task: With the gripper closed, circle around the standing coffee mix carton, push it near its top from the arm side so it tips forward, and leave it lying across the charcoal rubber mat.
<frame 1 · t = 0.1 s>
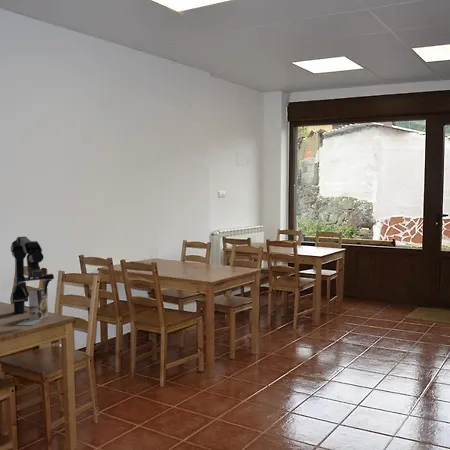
hand: (35, 295, 279), 15 cm above the table, tool pointing down, fingers open, 9 cm apart
coffee box: (38, 318, 295), on the table
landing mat: (29, 323, 283), on the table
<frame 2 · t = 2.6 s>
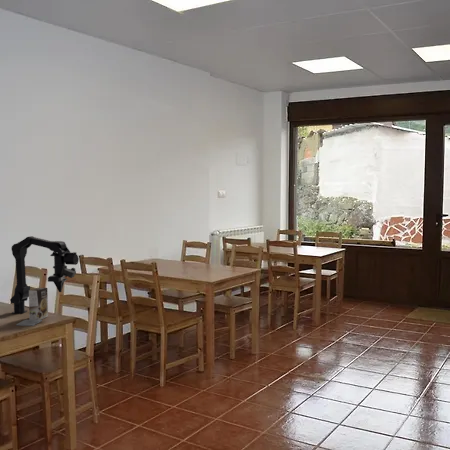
hand: (60, 291, 301), 13 cm above the table, tool pointing down, fingers closed
nothing on the table moved.
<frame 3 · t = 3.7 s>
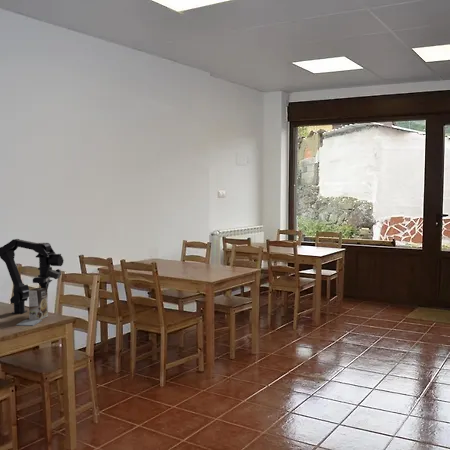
hand: (45, 293, 303), 12 cm above the table, tool pointing down, fingers closed
nothing on the table moved.
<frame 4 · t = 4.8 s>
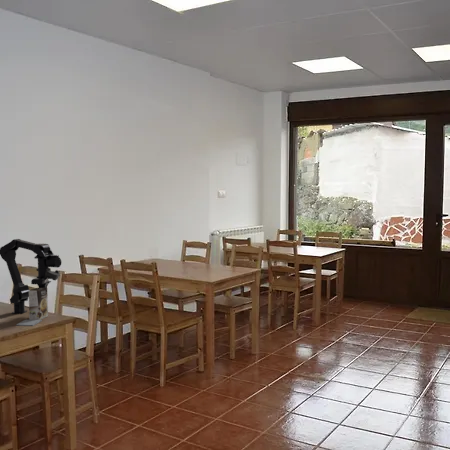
hand: (44, 294, 301), 12 cm above the table, tool pointing down, fingers closed
coffee box: (38, 318, 295), on the table, touching gripper
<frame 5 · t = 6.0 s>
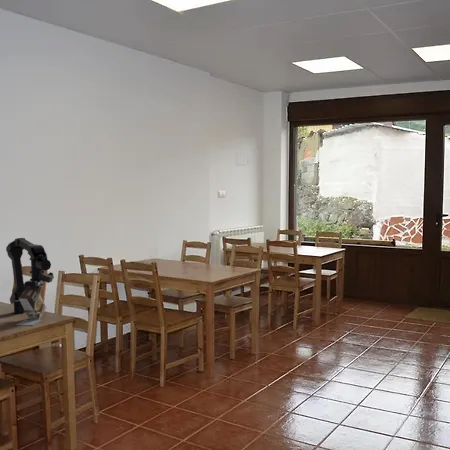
hand: (37, 297, 293), 12 cm above the table, tool pointing down, fingers closed
coffee box: (38, 313, 294), point 2 cm above the table
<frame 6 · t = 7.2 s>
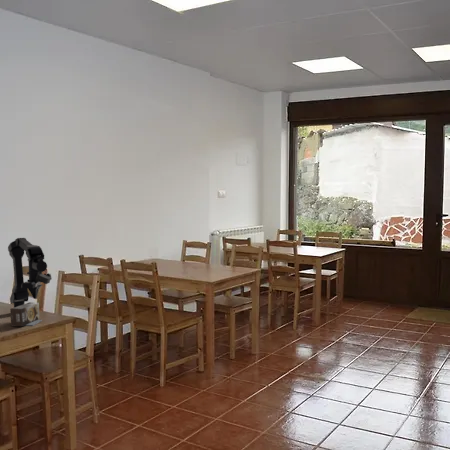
hand: (35, 298, 290), 11 cm above the table, tool pointing down, fingers closed
coffee box: (34, 310, 290), point 5 cm above the table, touching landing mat
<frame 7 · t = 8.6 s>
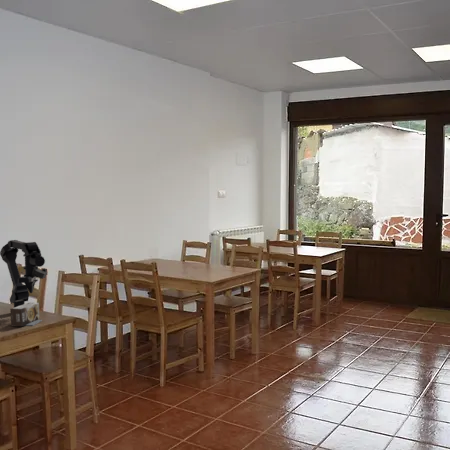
hand: (31, 293, 299), 13 cm above the table, tool pointing down, fingers closed
nothing on the table moved.
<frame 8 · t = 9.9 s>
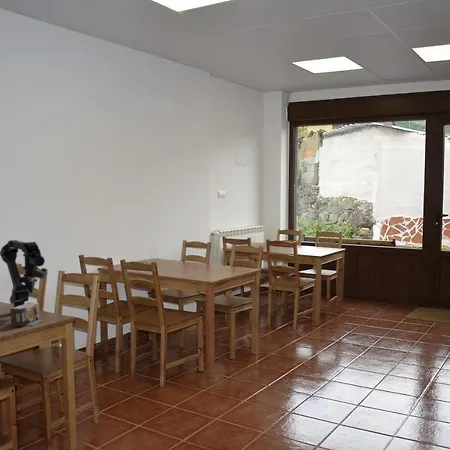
hand: (31, 292, 299), 13 cm above the table, tool pointing down, fingers closed
nothing on the table moved.
at the end: coffee box tilted 91°; coffee box inside the target area (2.7 cm from its centre), point 5.1 cm above the table; coffee box touching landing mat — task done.
